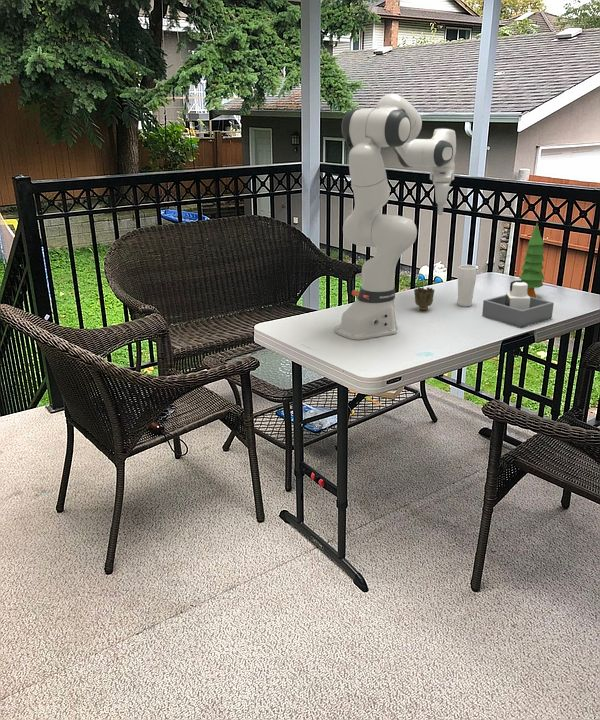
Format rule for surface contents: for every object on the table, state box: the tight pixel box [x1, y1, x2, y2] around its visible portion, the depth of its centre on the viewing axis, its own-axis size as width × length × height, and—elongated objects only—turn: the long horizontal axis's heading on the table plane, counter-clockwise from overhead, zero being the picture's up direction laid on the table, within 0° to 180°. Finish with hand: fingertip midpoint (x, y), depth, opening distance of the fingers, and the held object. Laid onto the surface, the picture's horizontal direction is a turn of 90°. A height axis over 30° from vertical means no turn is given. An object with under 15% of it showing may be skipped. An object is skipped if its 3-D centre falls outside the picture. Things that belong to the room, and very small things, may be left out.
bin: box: [481, 294, 555, 329], centre depth 228 cm, size 17×17×6 cm
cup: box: [413, 286, 435, 312], centre depth 238 cm, size 8×7×8 cm
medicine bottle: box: [505, 279, 530, 310], centre depth 227 cm, size 7×7×12 cm
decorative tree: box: [518, 222, 546, 298], centre depth 247 cm, size 10×9×30 cm
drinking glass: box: [457, 264, 478, 307], centre depth 242 cm, size 7×7×15 cm
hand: (439, 212), depth 239 cm, fingers open, 8 cm apart
